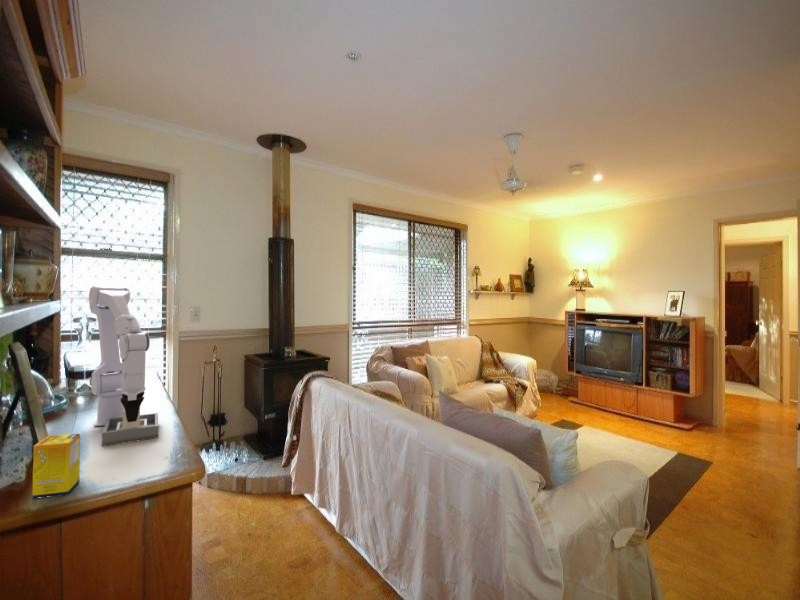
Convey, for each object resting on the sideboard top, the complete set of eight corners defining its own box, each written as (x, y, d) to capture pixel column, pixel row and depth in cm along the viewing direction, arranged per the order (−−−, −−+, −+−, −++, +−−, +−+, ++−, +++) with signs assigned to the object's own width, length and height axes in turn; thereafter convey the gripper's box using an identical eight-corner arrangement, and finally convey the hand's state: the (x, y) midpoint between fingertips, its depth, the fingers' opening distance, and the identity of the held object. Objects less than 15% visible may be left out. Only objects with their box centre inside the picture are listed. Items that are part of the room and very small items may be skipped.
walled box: (106, 430, 117) (107, 418, 117) (157, 423, 124) (157, 412, 124) (101, 445, 105) (102, 433, 105) (158, 437, 112) (158, 425, 112)
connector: (123, 425, 115) (124, 401, 115) (139, 422, 117) (140, 399, 117) (122, 429, 112) (123, 404, 112) (139, 426, 114) (139, 403, 114)
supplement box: (45, 486, 83) (47, 435, 83) (80, 482, 85) (81, 432, 85) (30, 500, 77) (32, 445, 77) (67, 495, 79) (69, 442, 79)
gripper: (118, 370, 118) (117, 414, 118) (114, 379, 106) (113, 428, 106) (146, 368, 122) (144, 411, 122) (145, 376, 110) (144, 424, 110)
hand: (132, 419), depth 115 cm, fingers closed on connector, 4 cm apart
